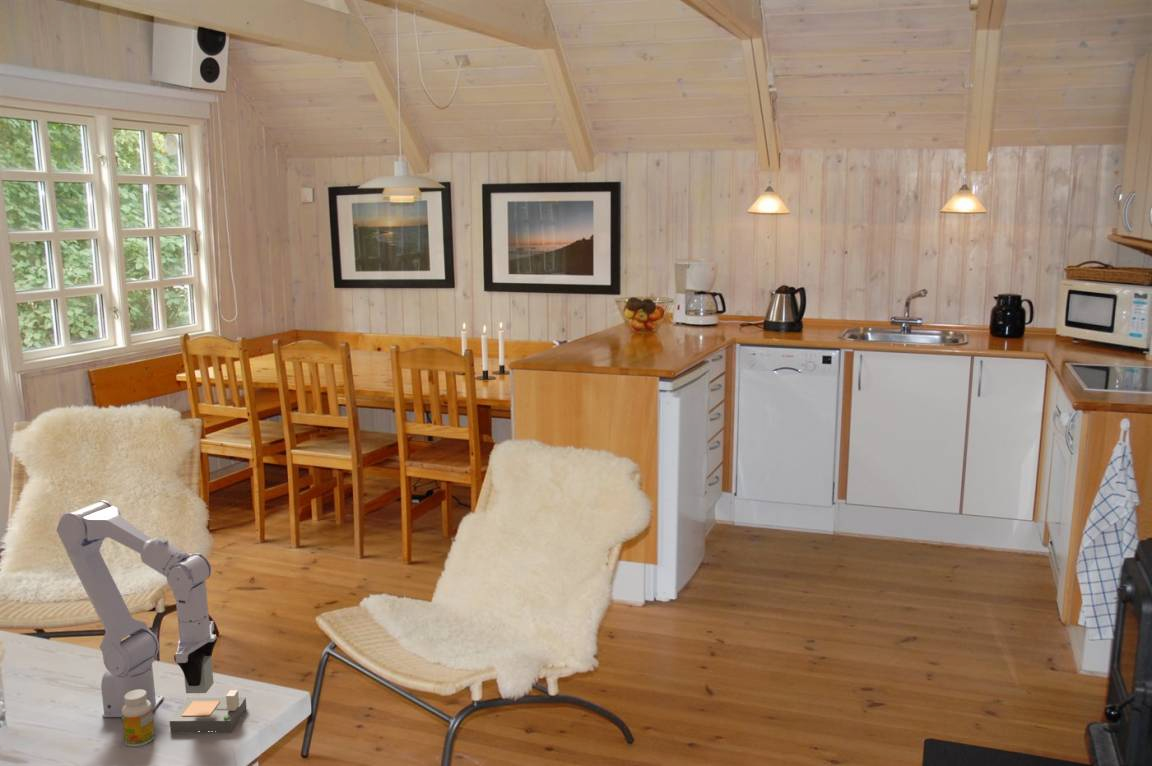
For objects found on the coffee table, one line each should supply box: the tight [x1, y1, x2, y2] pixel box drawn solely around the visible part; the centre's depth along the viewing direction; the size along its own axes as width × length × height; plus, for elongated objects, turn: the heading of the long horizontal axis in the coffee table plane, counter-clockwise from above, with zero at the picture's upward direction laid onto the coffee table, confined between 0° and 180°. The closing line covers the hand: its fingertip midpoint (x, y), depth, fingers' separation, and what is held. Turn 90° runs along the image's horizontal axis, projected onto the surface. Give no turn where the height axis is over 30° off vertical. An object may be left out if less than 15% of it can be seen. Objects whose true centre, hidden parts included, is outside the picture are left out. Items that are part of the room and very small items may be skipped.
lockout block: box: [183, 656, 214, 694], centre depth 192 cm, size 4×4×6 cm
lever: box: [225, 689, 240, 711], centre depth 193 cm, size 2×2×3 cm
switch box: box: [169, 697, 247, 733], centre depth 194 cm, size 12×9×3 cm
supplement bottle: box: [121, 689, 156, 748], centre depth 186 cm, size 5×5×10 cm
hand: (198, 679), depth 193 cm, fingers closed on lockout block, 4 cm apart
